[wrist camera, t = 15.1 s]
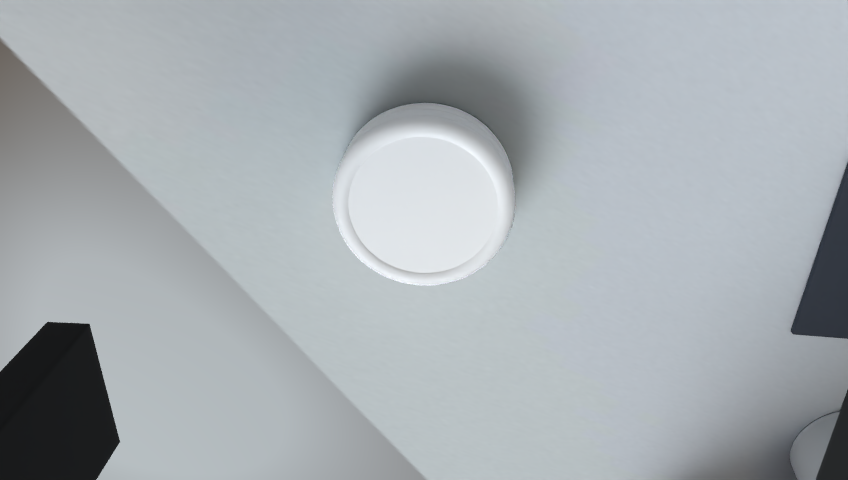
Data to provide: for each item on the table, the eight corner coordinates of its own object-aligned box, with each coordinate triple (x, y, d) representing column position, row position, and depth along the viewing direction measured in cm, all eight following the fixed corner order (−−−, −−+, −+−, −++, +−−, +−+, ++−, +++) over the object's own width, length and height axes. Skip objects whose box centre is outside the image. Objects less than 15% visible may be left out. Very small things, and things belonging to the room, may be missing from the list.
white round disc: (520, 251, 43) (524, 280, 40) (359, 268, 44) (350, 297, 41) (503, 88, 38) (506, 106, 35) (325, 112, 40) (312, 131, 36)
